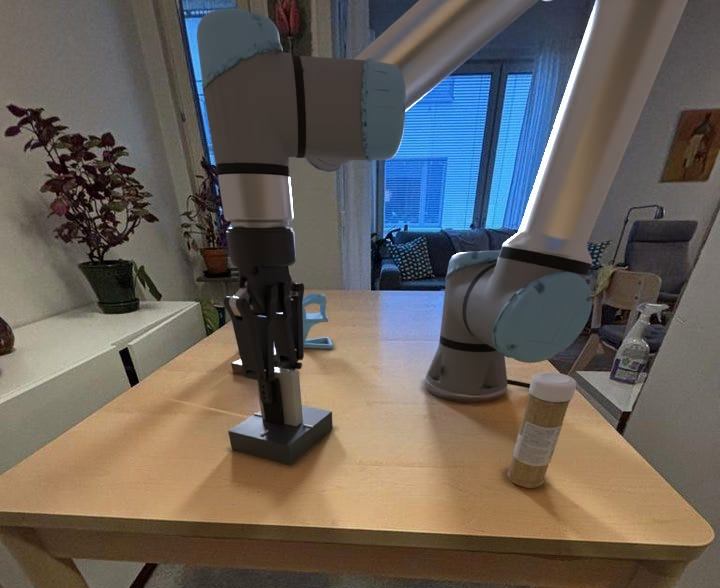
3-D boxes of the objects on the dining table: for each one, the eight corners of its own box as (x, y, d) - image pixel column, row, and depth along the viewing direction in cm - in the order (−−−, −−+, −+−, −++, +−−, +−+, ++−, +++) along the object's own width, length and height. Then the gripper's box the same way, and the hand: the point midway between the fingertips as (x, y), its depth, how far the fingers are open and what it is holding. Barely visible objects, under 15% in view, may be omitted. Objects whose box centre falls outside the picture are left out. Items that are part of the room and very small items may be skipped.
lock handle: (303, 421, 57) (298, 369, 53) (296, 426, 56) (291, 373, 51) (269, 414, 59) (262, 362, 55) (261, 418, 58) (254, 366, 53)
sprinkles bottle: (516, 466, 53) (542, 367, 46) (549, 479, 51) (584, 377, 43) (500, 479, 50) (525, 377, 43) (535, 494, 48) (569, 388, 40)
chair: (297, 342, 103) (293, 291, 96) (329, 340, 104) (327, 290, 97) (299, 350, 96) (295, 297, 90) (333, 348, 98) (331, 296, 91)
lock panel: (333, 428, 62) (332, 410, 60) (291, 465, 53) (289, 445, 51) (279, 416, 65) (277, 398, 64) (231, 449, 56) (227, 429, 55)
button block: (296, 367, 86) (294, 348, 84) (272, 380, 79) (270, 360, 77) (259, 361, 89) (256, 343, 87) (233, 373, 83) (229, 354, 80)
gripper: (273, 223, 51) (290, 394, 64) (179, 226, 39) (224, 435, 52) (324, 224, 49) (331, 401, 62) (240, 227, 37) (271, 447, 50)
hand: (282, 417), depth 57 cm, fingers open, 3 cm apart
